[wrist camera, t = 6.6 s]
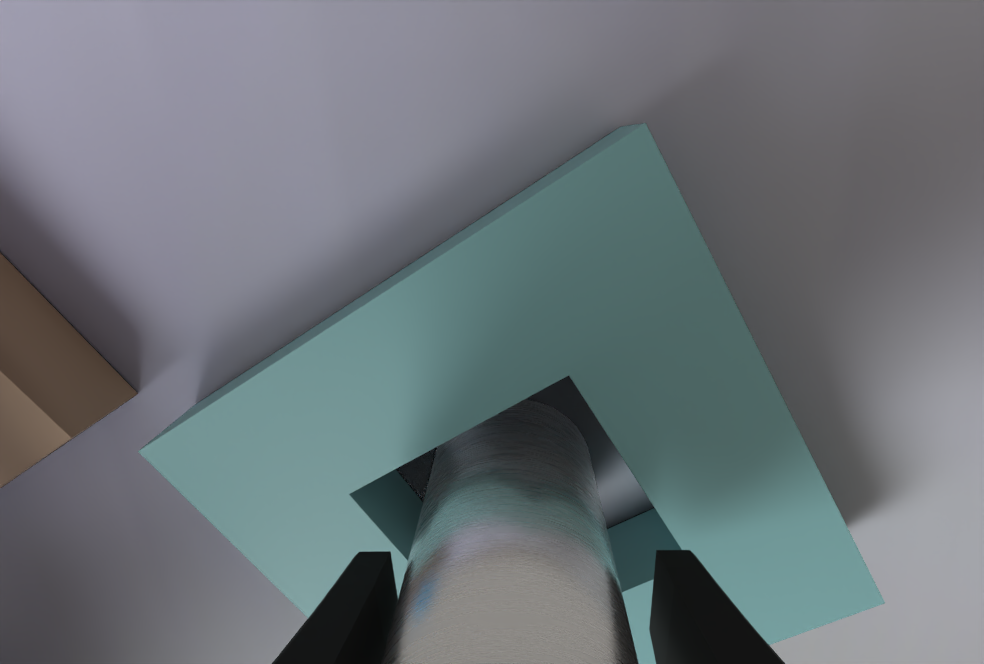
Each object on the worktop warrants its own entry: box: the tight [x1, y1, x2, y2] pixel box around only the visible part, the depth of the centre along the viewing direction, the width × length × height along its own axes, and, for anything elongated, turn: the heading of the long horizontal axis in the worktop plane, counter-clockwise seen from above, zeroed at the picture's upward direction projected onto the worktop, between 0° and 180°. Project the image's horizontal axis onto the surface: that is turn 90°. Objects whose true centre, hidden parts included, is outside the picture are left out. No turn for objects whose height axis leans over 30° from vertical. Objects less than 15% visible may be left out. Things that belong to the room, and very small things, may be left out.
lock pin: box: [382, 399, 639, 664], centre depth 9 cm, size 5×5×8 cm
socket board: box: [138, 123, 885, 664], centre depth 12 cm, size 12×12×2 cm
